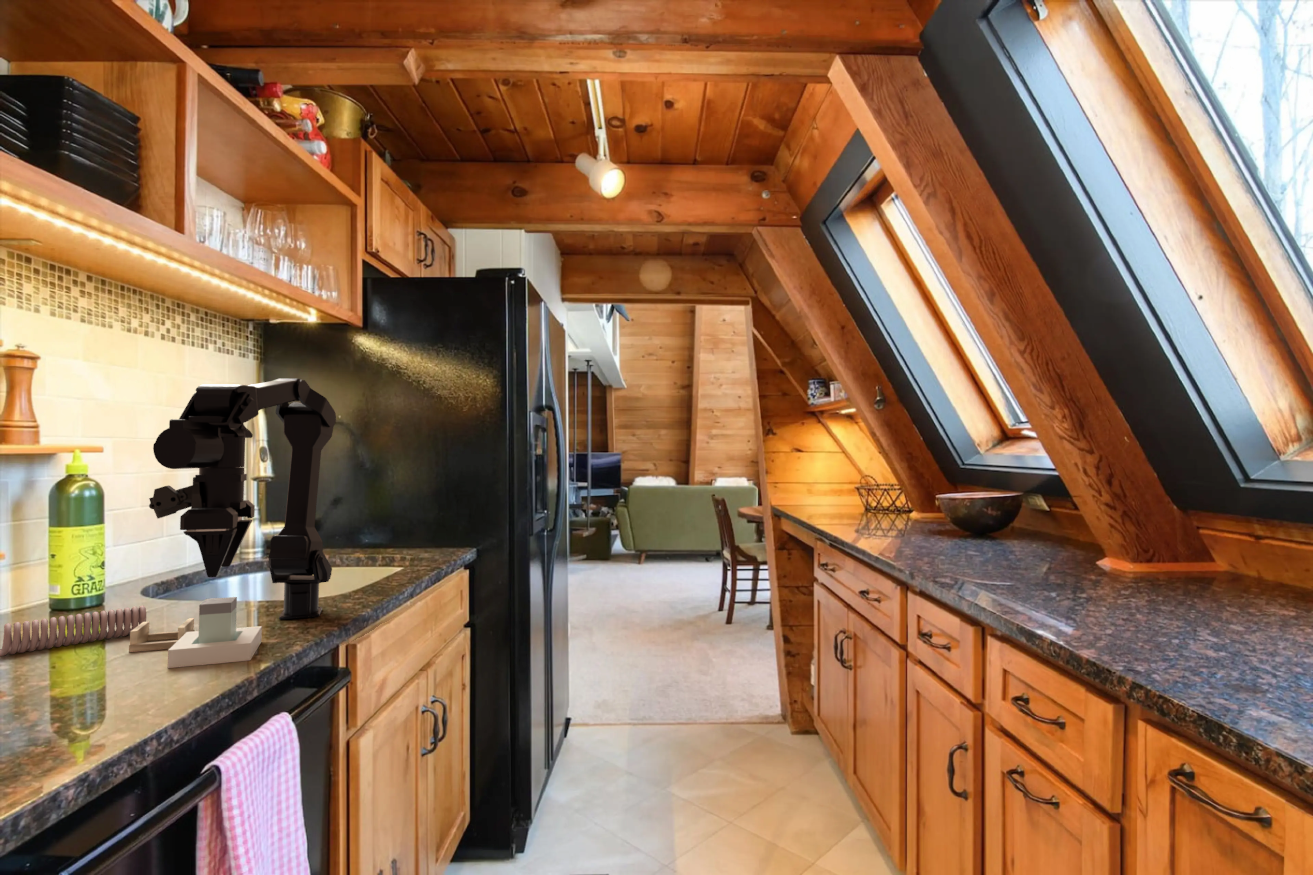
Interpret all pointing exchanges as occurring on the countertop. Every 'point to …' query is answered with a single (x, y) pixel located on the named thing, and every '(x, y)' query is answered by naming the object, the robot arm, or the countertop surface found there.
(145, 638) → the light brown square holder
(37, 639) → the coil
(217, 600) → the plug
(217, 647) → the plate
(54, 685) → the countertop surface
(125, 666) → the countertop surface
